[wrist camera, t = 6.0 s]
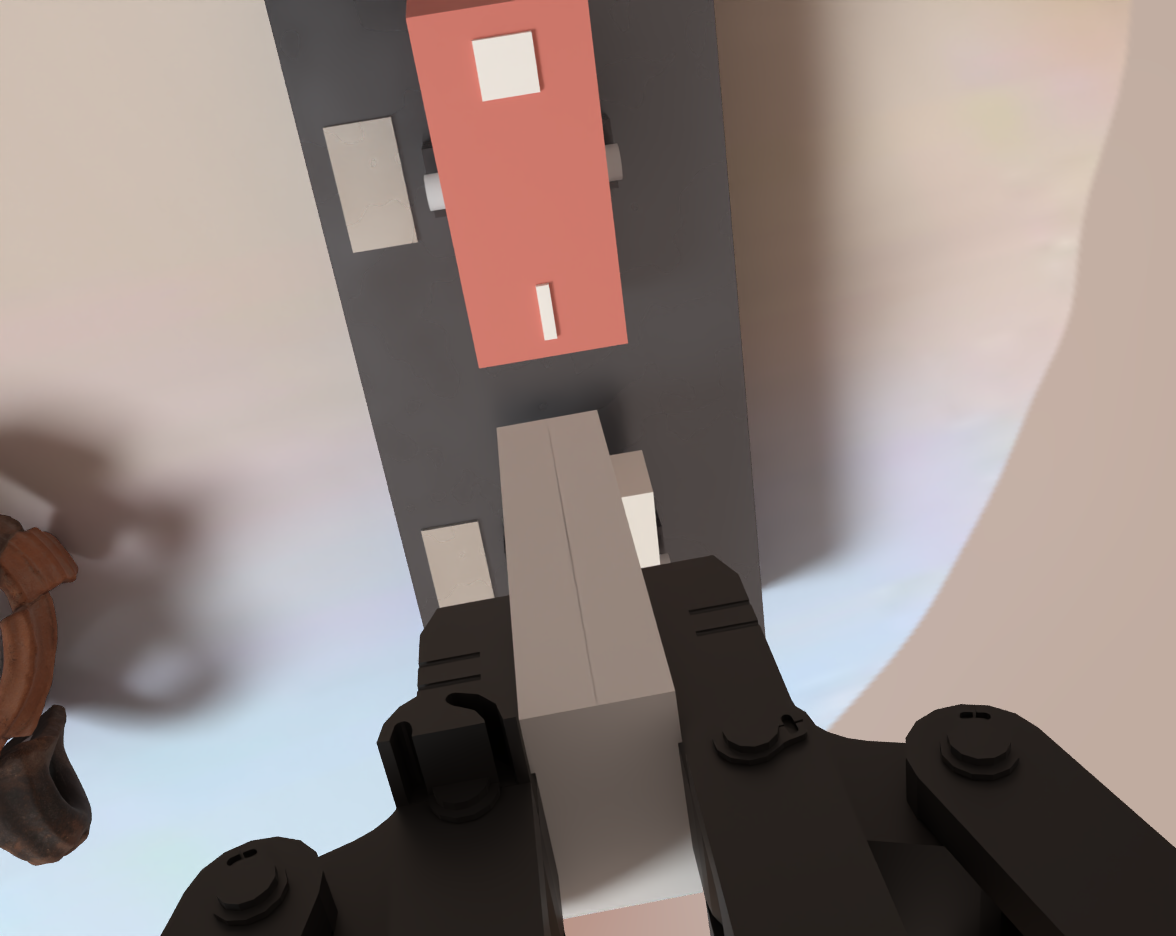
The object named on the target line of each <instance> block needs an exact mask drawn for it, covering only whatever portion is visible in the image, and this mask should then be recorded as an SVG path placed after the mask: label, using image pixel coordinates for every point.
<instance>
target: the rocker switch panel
mask: <svg viewBox="0 0 1176 936" xmlns="http://www.w3.org/2000/svg"><path fill="white" fill-rule="evenodd" d="M264 1H265V5H266V9H267V13H268V17H269V21H270V25H271V28H272V32H273V36H274V40H275V44H276V48H277V52H278V56H279V60H280V64H281V68H282V72H283V76H284V80H285V84H286V87H287V91H288V95H289V99H290V103H291V107H292V111H293V115H294V119H295V123H296V127H297V131H298V135H299V139H300V143H301V146H302V150H303V154H304V158H305V162H306V166H307V170H308V174H309V178H310V182H311V186H312V190H313V194H314V198H315V202H316V205H317V209H318V213H319V217H320V221H321V225H322V229H323V233H324V237H325V241H326V245H327V249H328V253H329V257H330V261H331V265H332V268H333V272H334V276H335V280H336V284H337V288H338V292H339V296H340V300H341V304H342V308H343V312H344V316H345V320H346V324H347V327H348V331H349V335H350V339H351V343H352V347H353V351H354V355H355V359H356V363H357V367H358V371H359V375H360V379H361V383H362V386H363V390H364V394H365V398H366V402H367V406H368V410H369V414H370V418H371V422H372V426H373V430H374V434H375V438H376V442H377V445H378V449H379V453H380V457H381V461H382V465H383V469H384V473H385V477H386V481H387V485H388V489H389V493H390V497H391V501H392V504H393V508H394V512H395V516H396V520H397V524H398V528H399V532H400V536H401V540H402V544H403V548H404V552H405V556H406V560H407V563H408V567H409V571H410V575H411V579H412V583H413V587H414V591H415V595H416V599H417V603H418V607H419V611H420V615H421V619H422V623H423V626H424V628H425V627H426V625H427V624H428V622H429V621H430V619H431V617H432V616H433V614H434V613H435V611H436V610H437V608H441V607H447V606H452V605H457V604H463V603H468V602H474V601H479V600H485V599H490V598H496V597H501V596H507V595H509V586H508V571H507V558H506V545H505V532H504V519H503V506H502V493H501V480H500V467H499V454H498V440H497V428H498V427H503V426H509V425H515V424H520V423H526V422H531V421H537V420H543V419H548V418H554V417H559V416H565V415H571V414H576V413H582V412H587V411H593V410H597V412H598V415H599V419H600V423H601V426H602V430H603V433H604V437H605V441H606V444H607V448H608V451H609V455H615V454H621V453H627V452H633V451H638V450H642V452H643V456H644V460H645V463H646V467H647V471H648V475H649V478H650V482H651V486H652V490H653V496H654V506H655V516H656V526H657V536H658V547H659V555H661V554H666V553H668V555H669V558H670V562H671V563H672V562H678V561H683V560H688V559H694V558H699V557H705V556H710V555H714V556H715V557H716V558H718V559H719V560H720V561H722V562H723V563H724V564H726V565H727V566H728V567H730V568H731V569H732V570H734V571H735V572H736V573H738V574H739V577H740V579H741V581H742V584H743V586H744V589H745V591H746V593H747V596H748V598H749V602H750V604H751V605H752V608H753V610H754V612H755V615H756V617H757V619H758V624H759V625H760V627H761V629H762V631H763V634H764V636H765V627H764V615H763V603H762V590H761V578H760V566H759V553H758V541H757V529H756V517H755V504H754V492H753V480H752V468H751V455H750V443H749V431H748V418H747V406H746V394H745V382H744V369H743V357H742V345H741V332H740V320H739V308H738V296H737V283H736V271H735V259H734V246H733V234H732V222H731V210H730V197H729V185H728V173H727V161H726V148H725V136H724V124H723V111H722V99H721V87H720V75H719V62H718V50H717V38H716V25H715V13H714V1H713V0H588V6H589V15H590V24H591V32H592V41H593V49H594V58H595V66H596V75H597V83H598V92H599V100H600V109H601V117H602V126H603V134H604V143H605V145H610V144H616V143H617V144H618V147H619V152H620V157H621V164H622V174H623V178H622V180H616V181H610V182H609V186H610V194H611V203H612V211H613V220H614V228H615V237H616V245H617V254H618V262H619V271H620V279H621V288H622V296H623V305H624V313H625V322H626V331H627V339H628V343H626V344H621V345H615V346H609V347H603V348H597V349H591V350H585V351H579V352H573V353H568V354H562V355H556V356H550V357H544V358H538V359H532V360H526V361H520V362H515V363H509V364H503V365H497V366H491V367H485V368H479V366H478V361H477V356H476V352H475V347H474V342H473V337H472V332H471V328H470V323H469V318H468V313H467V309H466V304H465V299H464V294H463V290H462V285H461V280H460V275H459V270H458V266H457V261H456V256H455V251H454V247H453V242H452V237H451V232H450V228H449V223H448V218H447V213H446V209H440V210H434V211H430V208H429V204H428V199H427V195H426V189H425V183H424V175H427V174H433V173H438V170H437V166H436V161H435V156H434V151H433V146H432V142H431V137H430V132H429V127H428V123H427V118H426V113H425V108H424V104H423V99H422V94H421V89H420V84H419V80H418V75H417V70H416V65H415V61H414V56H413V51H412V46H411V42H410V37H409V32H408V27H407V22H406V3H407V0H264Z"/></svg>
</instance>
